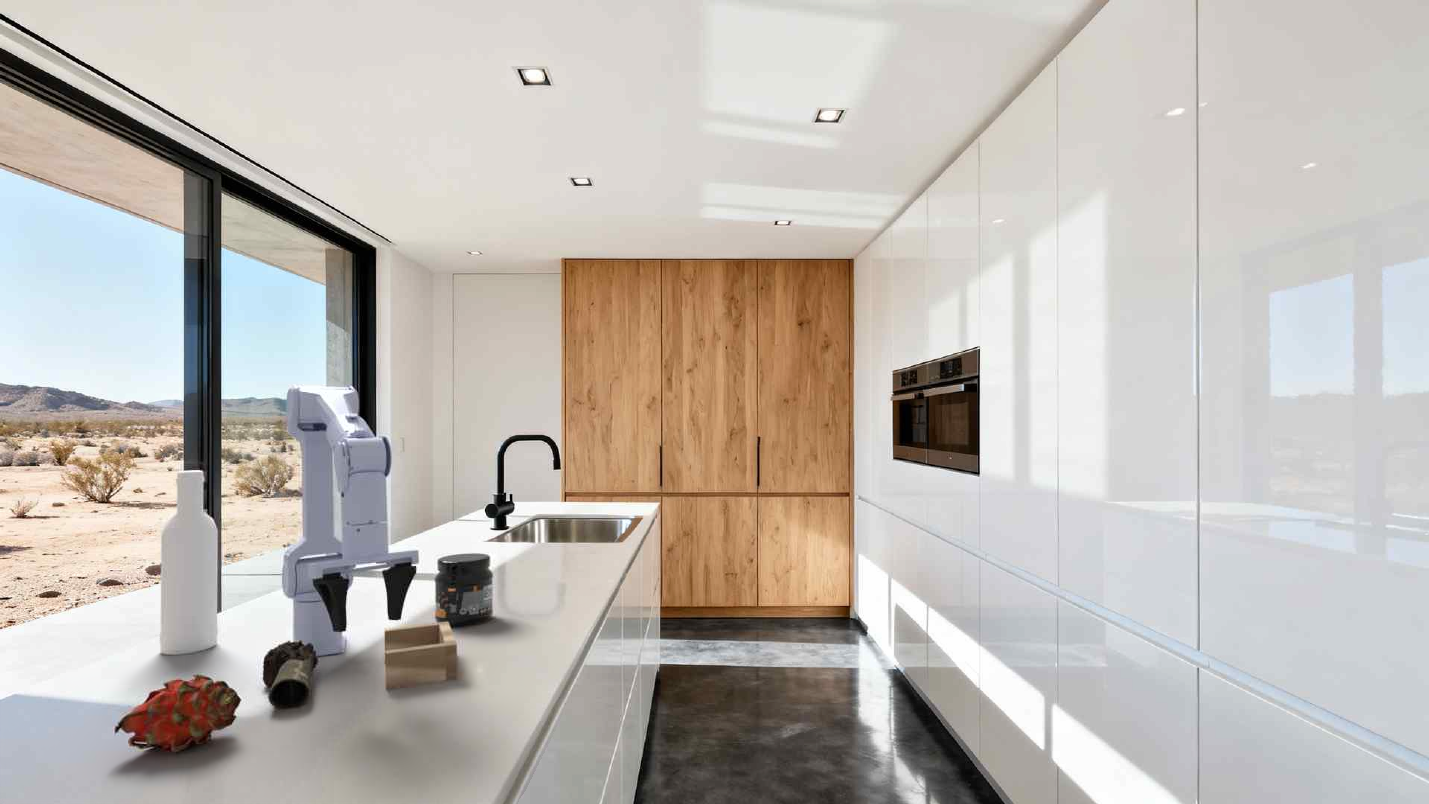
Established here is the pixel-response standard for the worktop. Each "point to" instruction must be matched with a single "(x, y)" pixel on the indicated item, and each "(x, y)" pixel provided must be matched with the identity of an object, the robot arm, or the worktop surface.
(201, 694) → the dragon fruit
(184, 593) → the bottle
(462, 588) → the supplement container
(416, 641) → the light wooden open box
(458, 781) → the worktop surface
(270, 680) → the metal pipe
